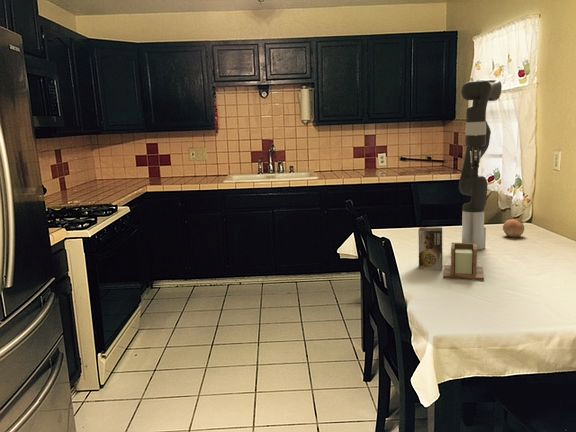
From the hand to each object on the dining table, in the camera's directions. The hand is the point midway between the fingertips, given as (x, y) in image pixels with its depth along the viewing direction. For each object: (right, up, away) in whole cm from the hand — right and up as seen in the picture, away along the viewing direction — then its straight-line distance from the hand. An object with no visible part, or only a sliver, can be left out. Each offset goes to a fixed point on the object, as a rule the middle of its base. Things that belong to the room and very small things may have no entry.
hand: (474, 178), depth 189 cm
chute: (-7, -37, -7) cm, 38 cm away
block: (-7, -36, -7) cm, 37 cm away
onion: (+37, -25, +46) cm, 64 cm away
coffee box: (-17, -36, +3) cm, 40 cm away
